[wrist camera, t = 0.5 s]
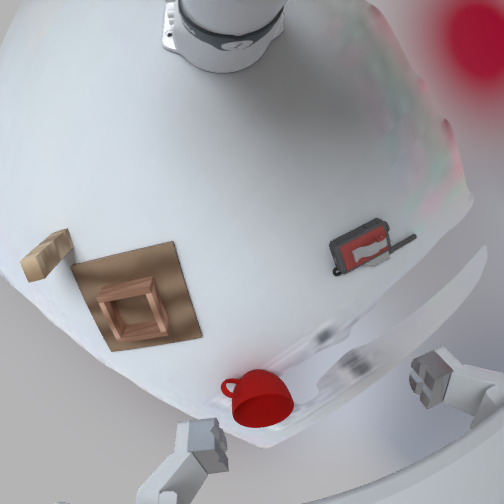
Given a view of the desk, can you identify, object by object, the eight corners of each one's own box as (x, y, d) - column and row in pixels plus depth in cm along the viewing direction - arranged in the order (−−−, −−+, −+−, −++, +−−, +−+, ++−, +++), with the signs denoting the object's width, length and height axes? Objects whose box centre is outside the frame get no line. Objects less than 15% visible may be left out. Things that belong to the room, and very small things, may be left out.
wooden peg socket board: (72, 265, 46) (62, 277, 41) (173, 240, 47) (170, 252, 43) (112, 348, 54) (107, 364, 49) (202, 334, 55) (202, 351, 51)
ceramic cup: (238, 343, 58) (245, 378, 49) (294, 371, 64) (306, 403, 55) (202, 378, 60) (204, 413, 51) (258, 401, 67) (265, 432, 58)
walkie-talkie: (334, 280, 56) (413, 237, 55) (343, 292, 52) (425, 245, 51) (321, 243, 52) (406, 200, 52) (330, 253, 48) (419, 206, 47)
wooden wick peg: (52, 233, 43) (19, 261, 32) (67, 228, 43) (35, 256, 32) (59, 250, 44) (28, 282, 33) (73, 246, 44) (44, 278, 34)
